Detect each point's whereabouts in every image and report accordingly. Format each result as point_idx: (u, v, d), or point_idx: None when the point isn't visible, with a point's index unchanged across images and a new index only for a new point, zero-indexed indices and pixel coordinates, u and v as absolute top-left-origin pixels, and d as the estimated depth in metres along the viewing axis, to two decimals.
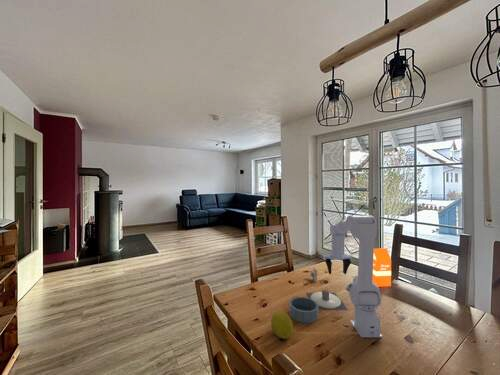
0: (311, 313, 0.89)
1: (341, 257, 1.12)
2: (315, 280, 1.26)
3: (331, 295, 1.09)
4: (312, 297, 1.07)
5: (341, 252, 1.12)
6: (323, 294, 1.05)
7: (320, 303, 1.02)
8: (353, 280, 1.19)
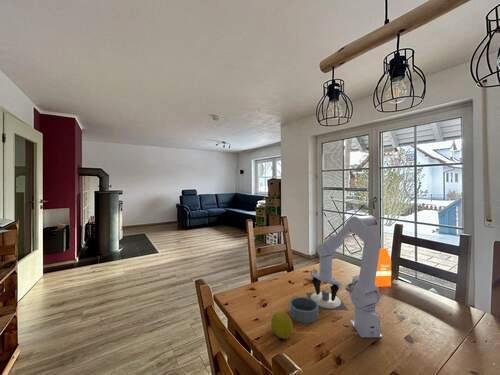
0: (311, 313, 0.89)
1: (324, 280, 1.03)
2: None
3: None
4: (312, 297, 1.07)
5: (325, 274, 1.03)
6: (323, 294, 1.05)
7: (321, 303, 1.02)
8: (352, 280, 1.19)
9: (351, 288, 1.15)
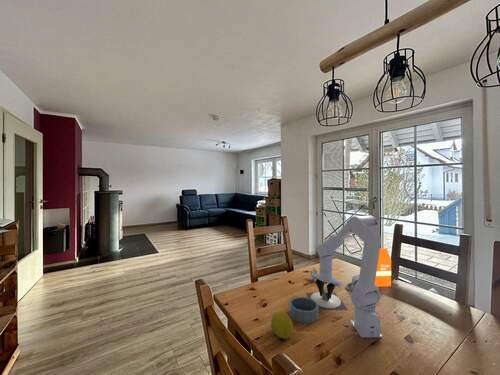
0: (311, 313, 0.89)
1: (324, 280, 1.03)
2: (315, 280, 1.26)
3: (331, 295, 1.09)
4: (312, 297, 1.07)
5: (325, 274, 1.03)
6: (323, 294, 1.05)
7: (321, 303, 1.02)
8: (352, 280, 1.19)
9: (350, 288, 1.16)
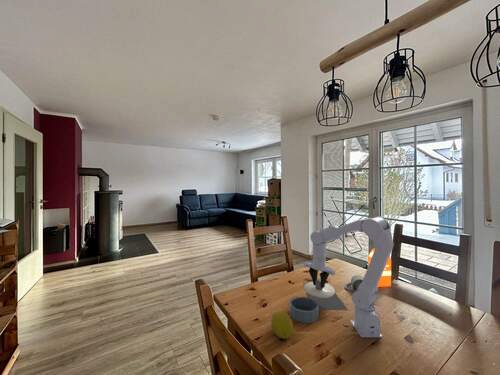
0: (311, 313, 0.89)
1: (318, 268, 0.99)
2: None
3: (325, 284, 1.06)
4: (305, 286, 1.04)
5: (318, 262, 0.99)
6: (316, 283, 1.01)
7: (314, 292, 0.99)
8: (351, 280, 1.19)
9: (350, 288, 1.16)
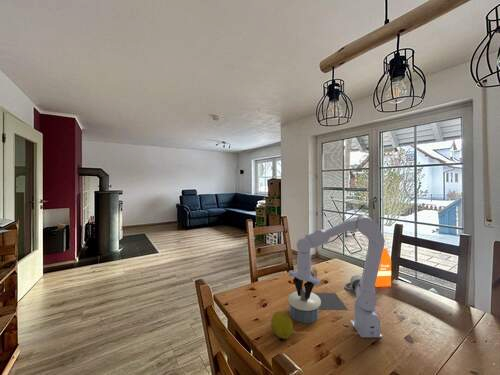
0: (311, 313, 0.89)
1: (302, 278, 0.92)
2: None
3: (311, 294, 0.99)
4: (290, 298, 0.97)
5: (302, 272, 0.92)
6: (301, 294, 0.94)
7: (298, 304, 0.92)
8: (350, 280, 1.19)
9: (349, 288, 1.16)
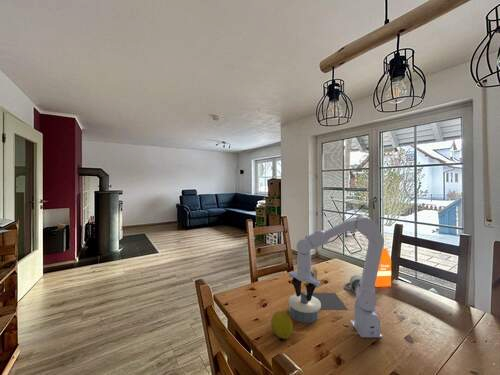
0: (311, 313, 0.89)
1: (302, 279, 0.92)
2: None
3: None
4: (290, 300, 0.97)
5: (302, 273, 0.92)
6: (301, 296, 0.94)
7: (298, 306, 0.92)
8: (350, 280, 1.19)
9: (349, 288, 1.16)
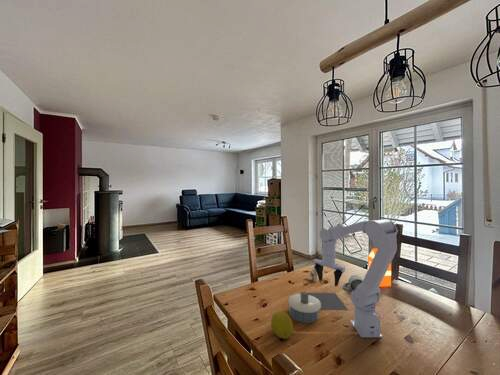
0: (311, 313, 0.89)
1: (328, 265, 1.00)
2: (315, 280, 1.26)
3: (311, 297, 0.99)
4: (290, 300, 0.97)
5: (328, 259, 1.00)
6: (301, 296, 0.94)
7: (298, 306, 0.92)
8: (349, 279, 1.20)
9: (348, 288, 1.16)
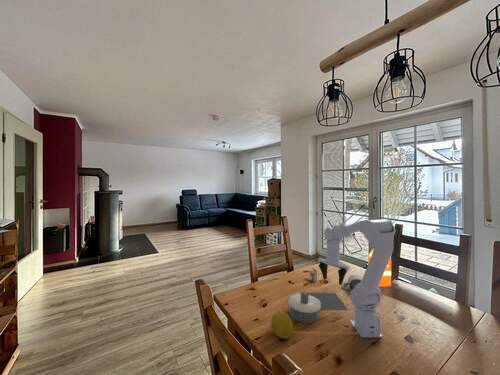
0: (311, 313, 0.89)
1: (332, 264, 1.02)
2: (315, 280, 1.26)
3: (311, 297, 0.99)
4: (290, 300, 0.97)
5: (332, 258, 1.02)
6: (301, 296, 0.94)
7: (298, 306, 0.92)
8: (348, 279, 1.20)
9: (347, 287, 1.16)
